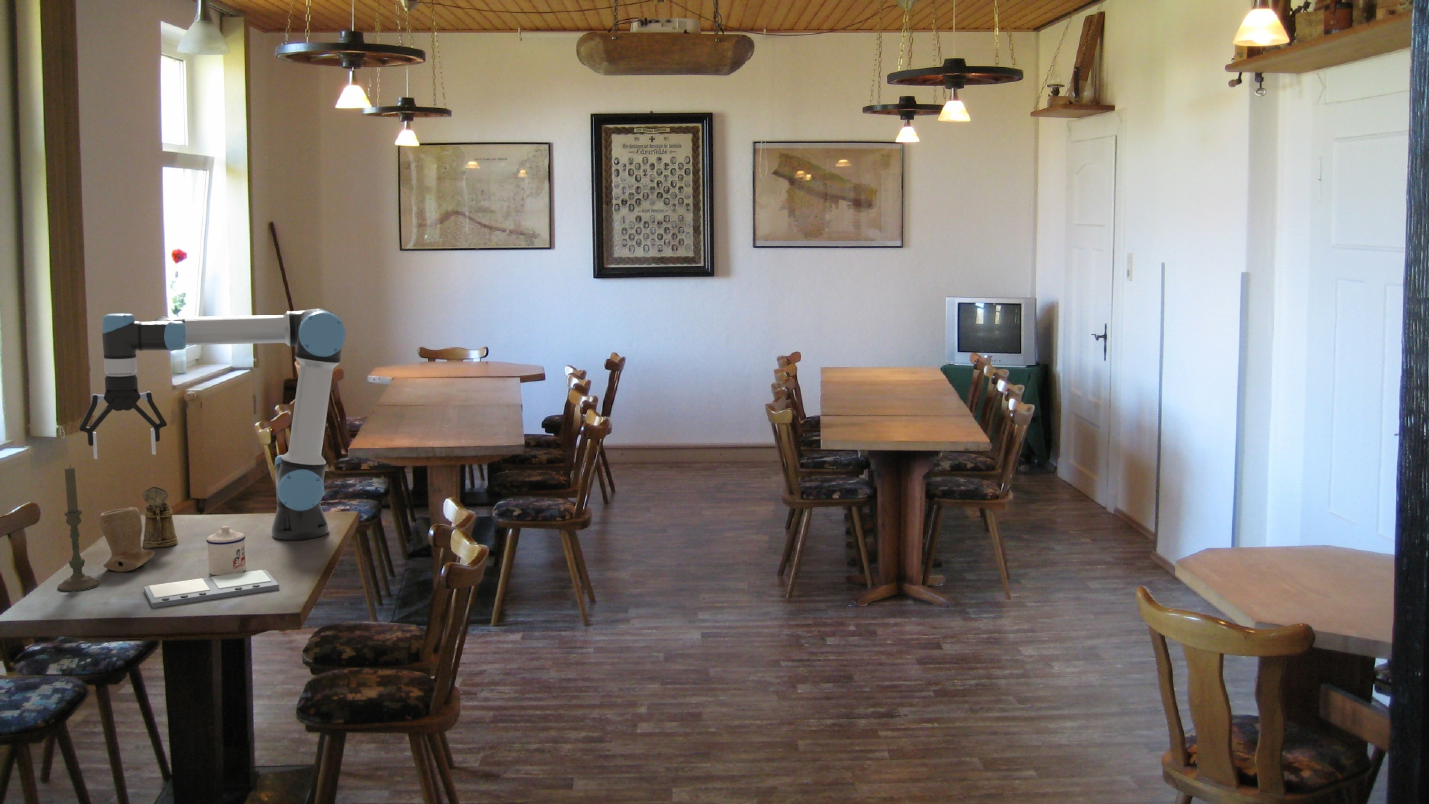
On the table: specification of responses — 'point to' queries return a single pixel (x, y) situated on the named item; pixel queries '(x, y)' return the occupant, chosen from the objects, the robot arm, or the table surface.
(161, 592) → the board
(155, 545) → the wooden mug
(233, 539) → the teacup with lid
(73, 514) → the candlestick holder
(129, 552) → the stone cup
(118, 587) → the table surface
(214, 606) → the table surface
